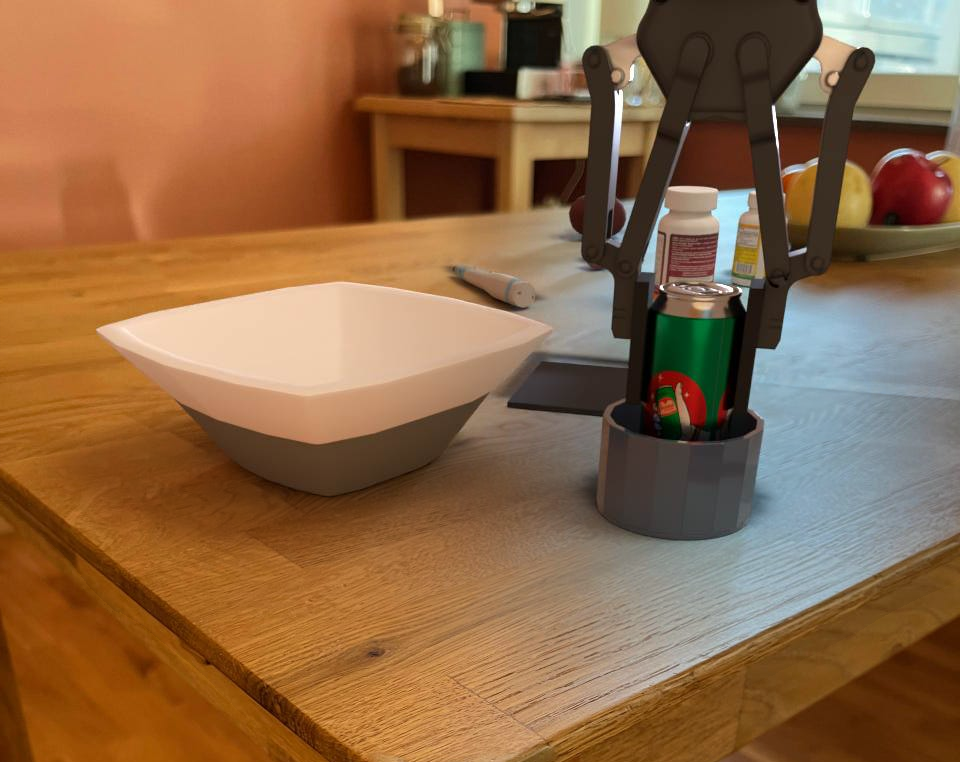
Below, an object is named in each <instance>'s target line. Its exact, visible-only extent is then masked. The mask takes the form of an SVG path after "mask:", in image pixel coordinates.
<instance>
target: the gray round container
mask: <svg viewBox="0 0 960 762" xmlns="http://www.w3.org/2000/svg"><path fill="white" fill-rule="evenodd" d="M625 400H626V398H625V399H622V400H620V401H617V402H615V403H613V404H611V405H609V406H607V408H606V410H605V412H604V414H603V416H602V421H601V434H600V446H599V460H598V474H597V485H596V486H597V489H596V502H597V510H598V512H599V513H600V514H601V515H602V517H604V518H605V520H607V521H609V522H610V523H611V524H614V525H615V526H617V527H619V528H620V529H621V528H622V529H624V530H626V531H630V532H632V533H636V534H639V535H643V536H649V537H653V538H657V539H658V538H659V539H665V540H667V539H668V540H680V541H692V540H693V541H695V540H696V541H697V540H709V539H714V538H715V539H716V538H720V537H724V536H727V535H730V534H733V533H735V532H737V531H739V530H740V529H742V528H744V527H745V526H746V525H747V523H749V520H750V518H751V512H752V505H753V500H754V493H755V486H756V480H757V474H758V468H759V462H760V461H759V460H760V454H761V450H762V449H761V448H762V441H763V437H764V436H763V435H764V428H765V420H764V418H762V416H760V415H759V413H757V412H756V411H754V410H753V409H751V408H748V411H747V415H743V414H733V417H732V424H731V432H730V439H728V440H723V441H704V442H687V441H677V440H667V439H659V438H655V437H651V436H646V435H642V434H639V423H640V412H641V402H640V404H639V405H628V404H625ZM641 400H642V399H641Z"/></svg>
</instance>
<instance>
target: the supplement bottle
mask: <svg viewBox="0 0 960 762" xmlns="http://www.w3.org/2000/svg"><path fill="white" fill-rule="evenodd" d="M783 194H784V203H785V204H786V193H784V192H783ZM747 207H748V210H746V211H744V212H743V213H741V214H740V216H739V218H738V223H737V229H736V237H735V244H734V245H735V246H734V253H733V259H732V265H731V274H730V280H731V282H732V283H733V284H735V285H738V286H743V287H749V288H750V283H751V279H752V278H757V279H765V277H766V276H765V268H764V259H763V250H762V242H761V233H760V225H759V216H758V208H757V199H756V190H754V191H749V193H748V197H747ZM786 222H787V223H788V217H787V216H786Z"/></svg>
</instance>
